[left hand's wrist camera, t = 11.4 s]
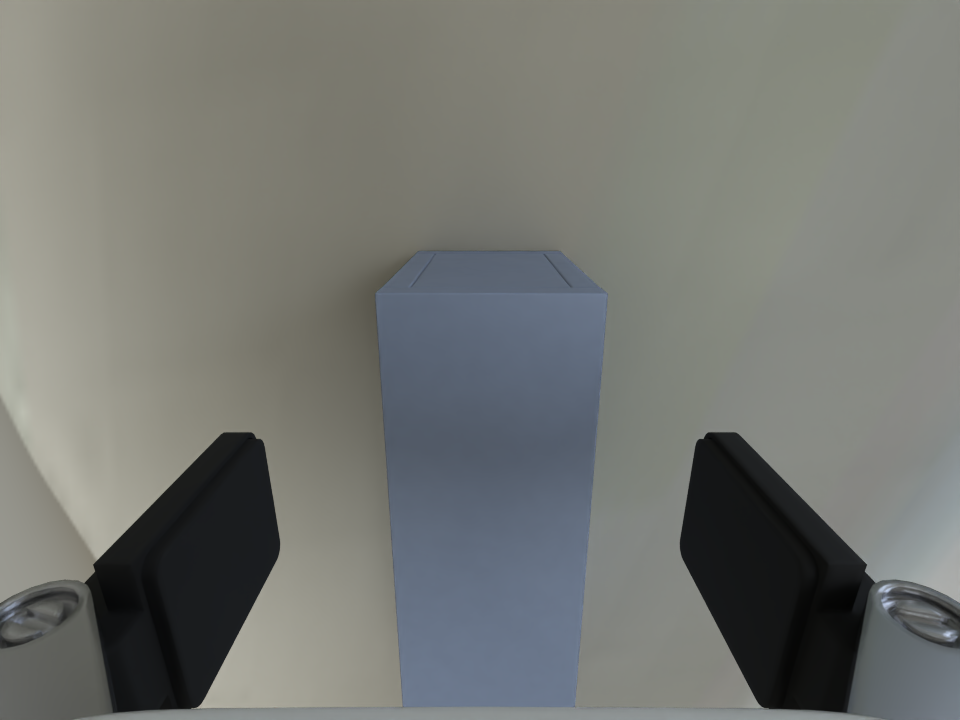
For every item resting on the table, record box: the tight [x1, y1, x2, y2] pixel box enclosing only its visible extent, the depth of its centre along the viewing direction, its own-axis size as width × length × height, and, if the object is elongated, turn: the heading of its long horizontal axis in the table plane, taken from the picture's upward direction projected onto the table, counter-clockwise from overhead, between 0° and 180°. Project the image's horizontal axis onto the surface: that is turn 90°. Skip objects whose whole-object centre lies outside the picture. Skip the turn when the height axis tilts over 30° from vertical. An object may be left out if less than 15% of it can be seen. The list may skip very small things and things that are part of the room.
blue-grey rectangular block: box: [375, 251, 608, 707], centre depth 21 cm, size 20×6×9 cm, turn 0°
